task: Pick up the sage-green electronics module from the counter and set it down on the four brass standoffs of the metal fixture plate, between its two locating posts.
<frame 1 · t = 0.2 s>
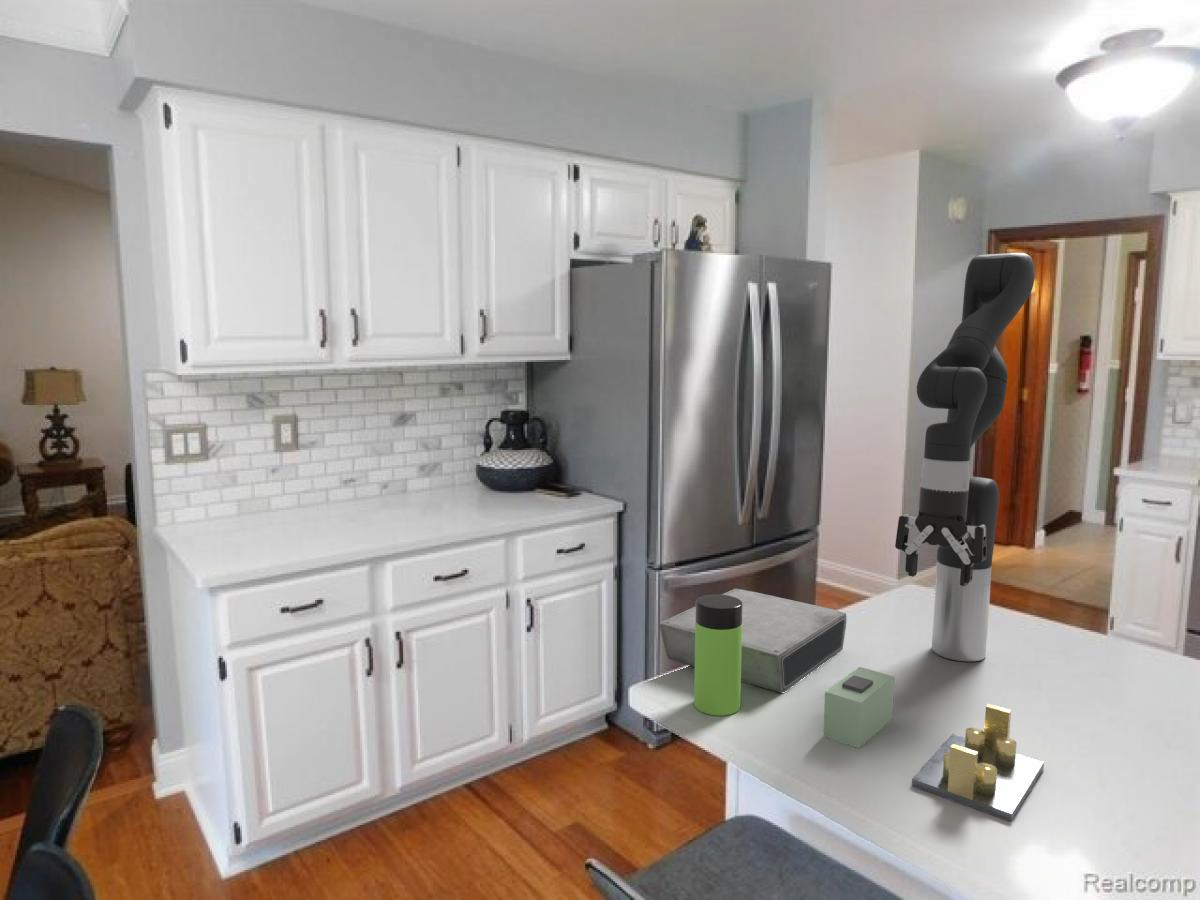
hand: (937, 580, 137), 17 cm above the kitchen island, tool pointing down, fingers open, 8 cm apart
metal fixture plate: (978, 777, 107), on the kitchen island
speaker: (757, 656, 150), on the kitchen island
module: (858, 727, 121), on the kitchen island
tumbler: (716, 706, 129), on the kitchen island
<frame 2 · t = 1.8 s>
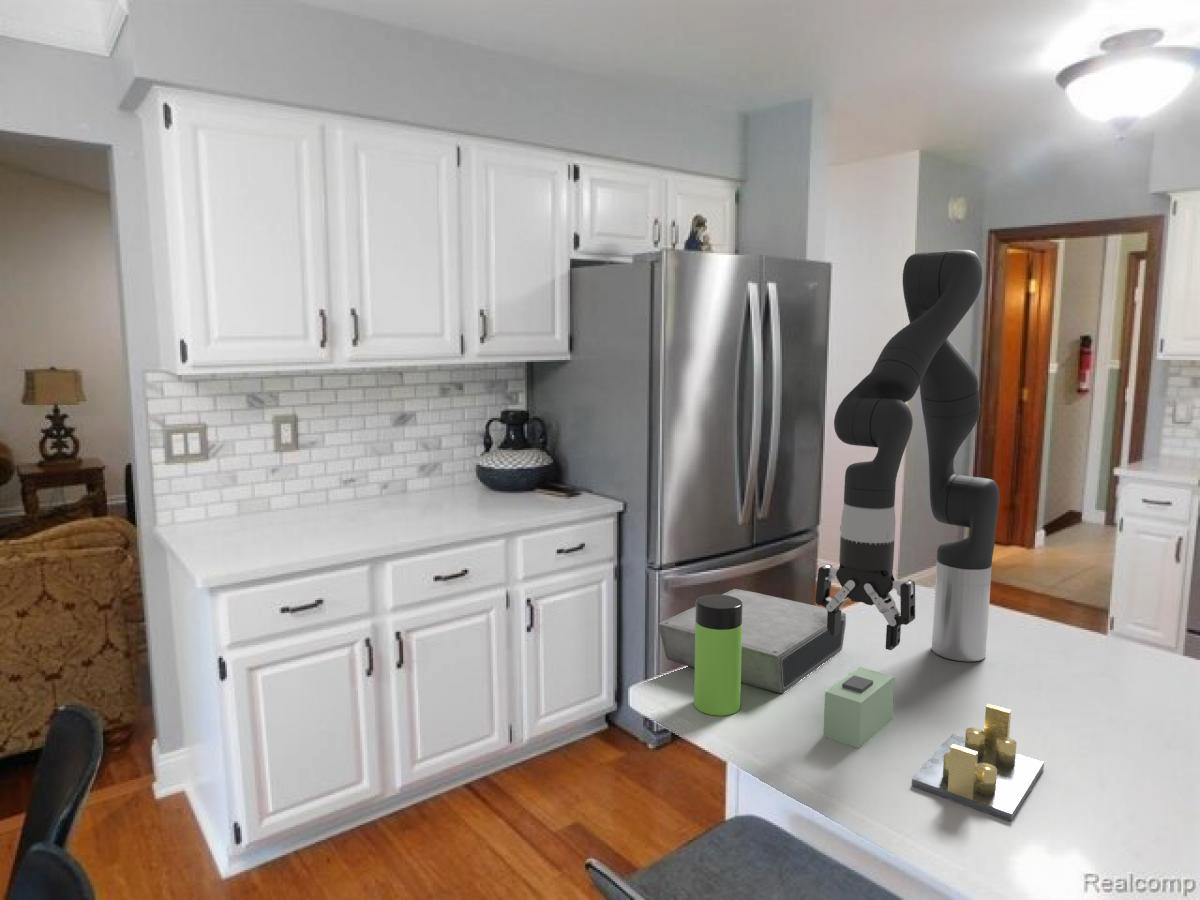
hand: (862, 641, 120), 13 cm above the kitchen island, tool pointing down, fingers open, 8 cm apart
nothing on the kitchen island moved.
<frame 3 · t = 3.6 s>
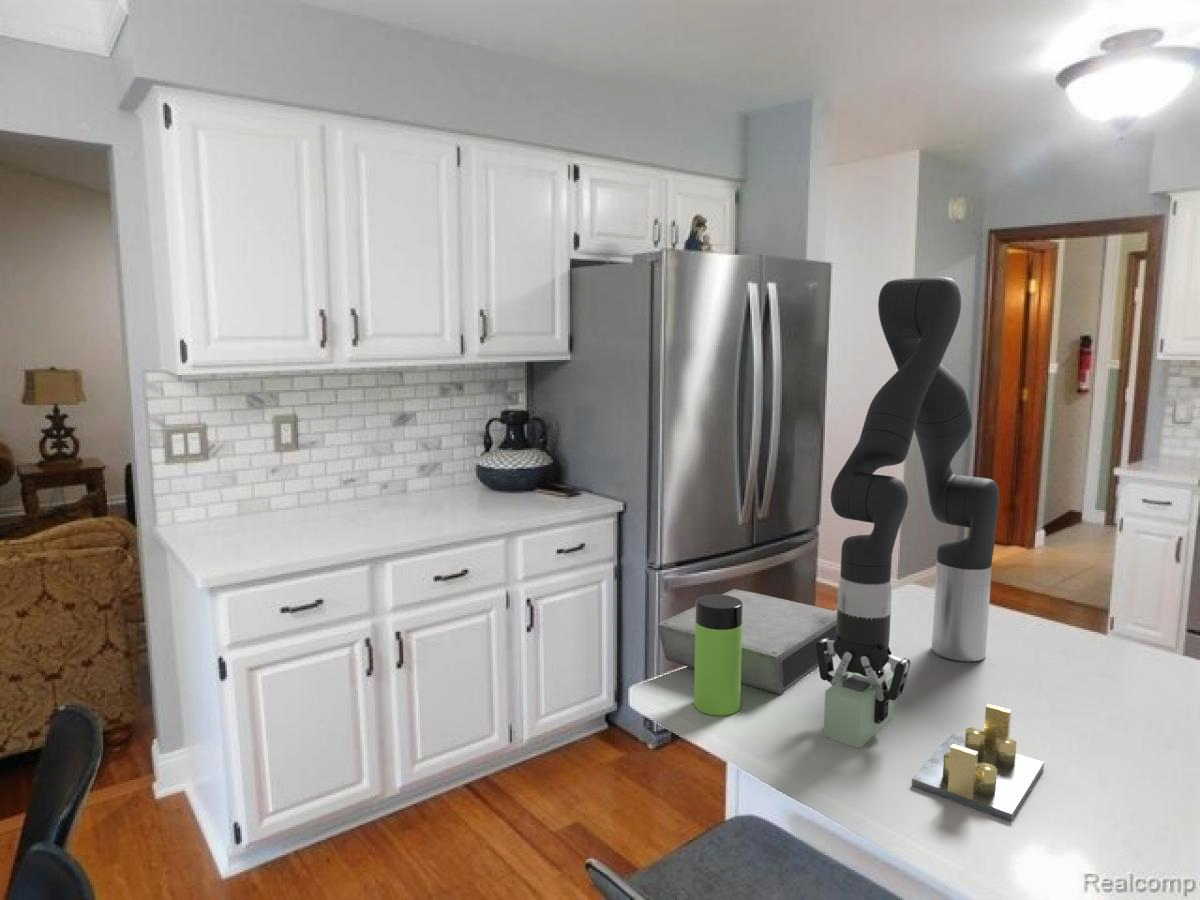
hand: (858, 714, 121), 2 cm above the kitchen island, tool pointing down, fingers closed on module, 5 cm apart
module: (858, 727, 121), on the kitchen island, touching gripper
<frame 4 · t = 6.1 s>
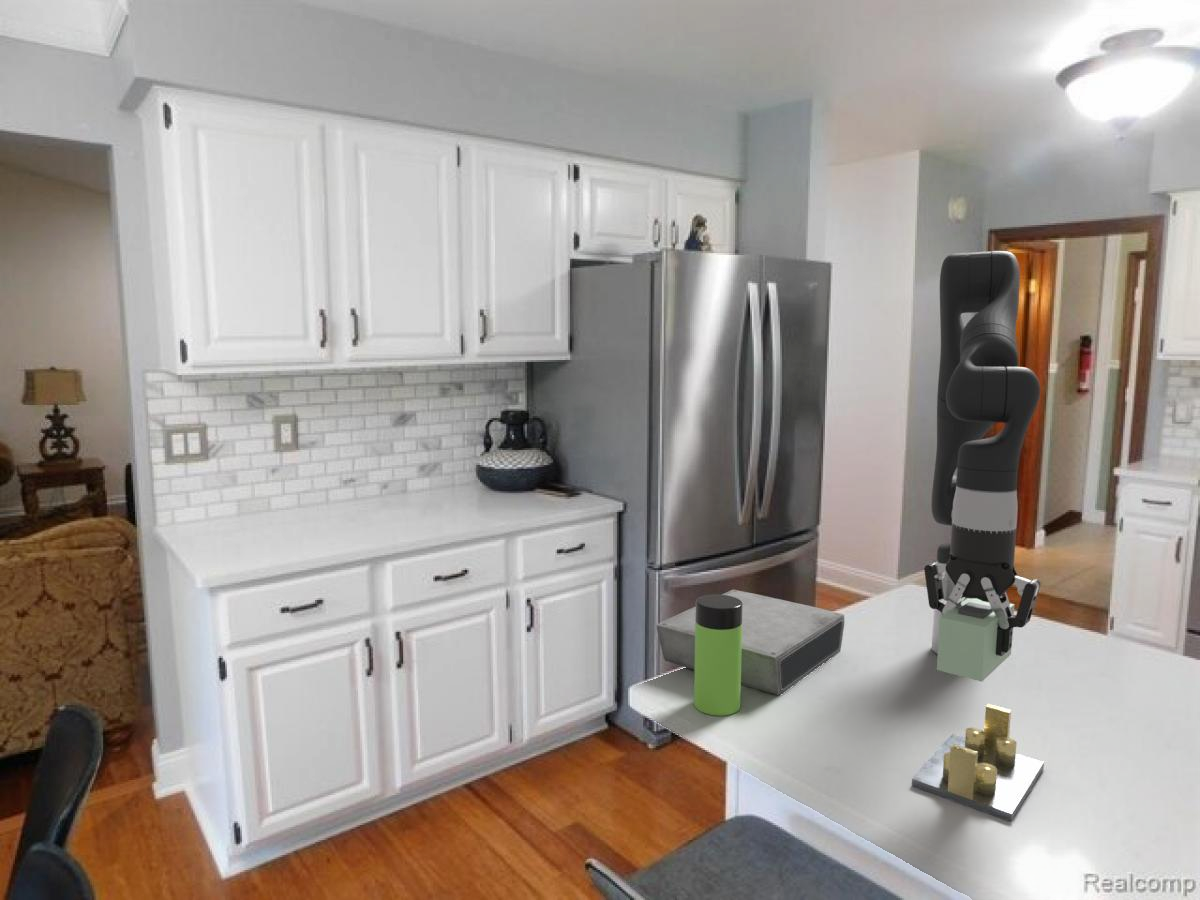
hand: (975, 647, 106), 18 cm above the kitchen island, tool pointing down, fingers closed on module, 5 cm apart
module: (974, 661, 106), point 16 cm above the kitchen island, touching gripper
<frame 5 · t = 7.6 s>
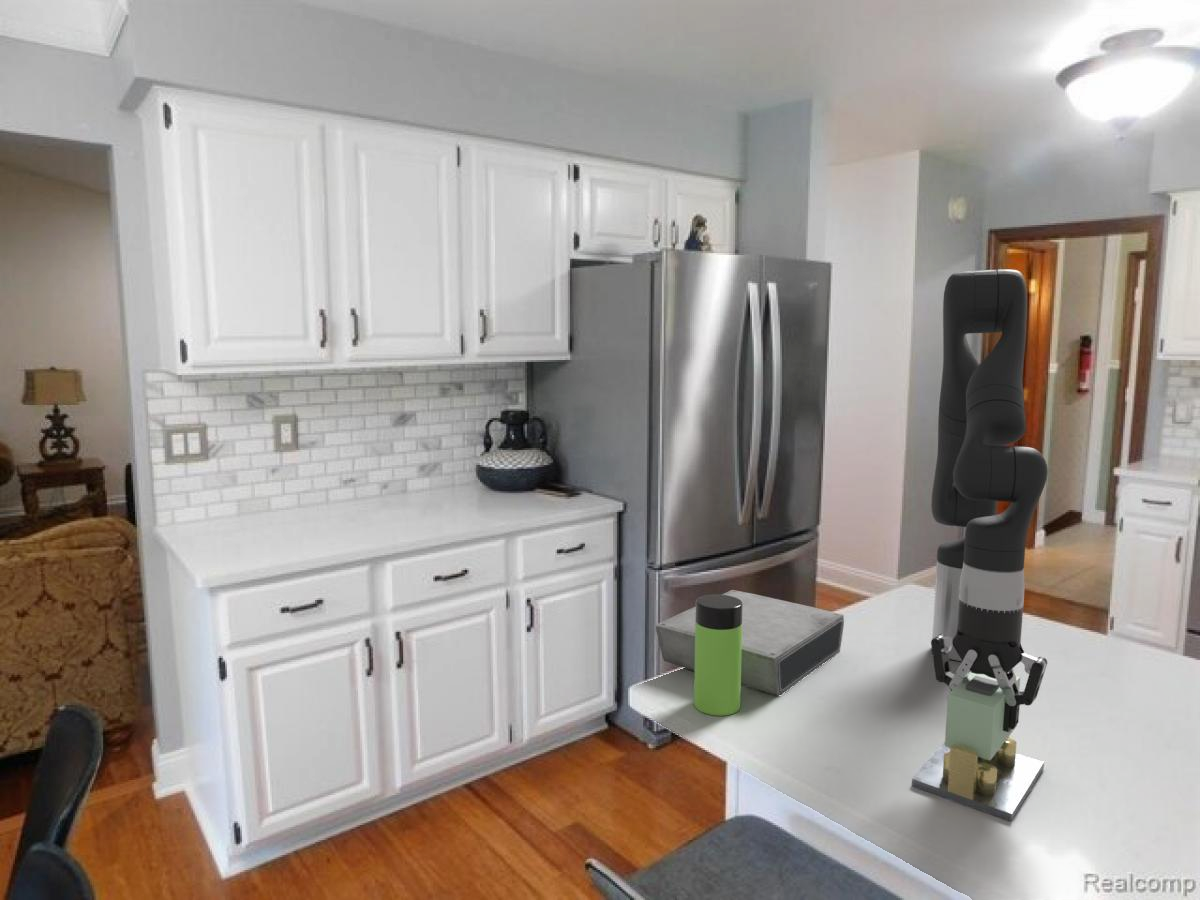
hand: (982, 721, 106), 8 cm above the kitchen island, tool pointing down, fingers closed on module, 5 cm apart
module: (981, 735, 107), point 6 cm above the kitchen island, touching gripper
when the fingers open (7 cm above the kitchen island, at t = 8.6 s): module stays where it is, resting on metal fixture plate.
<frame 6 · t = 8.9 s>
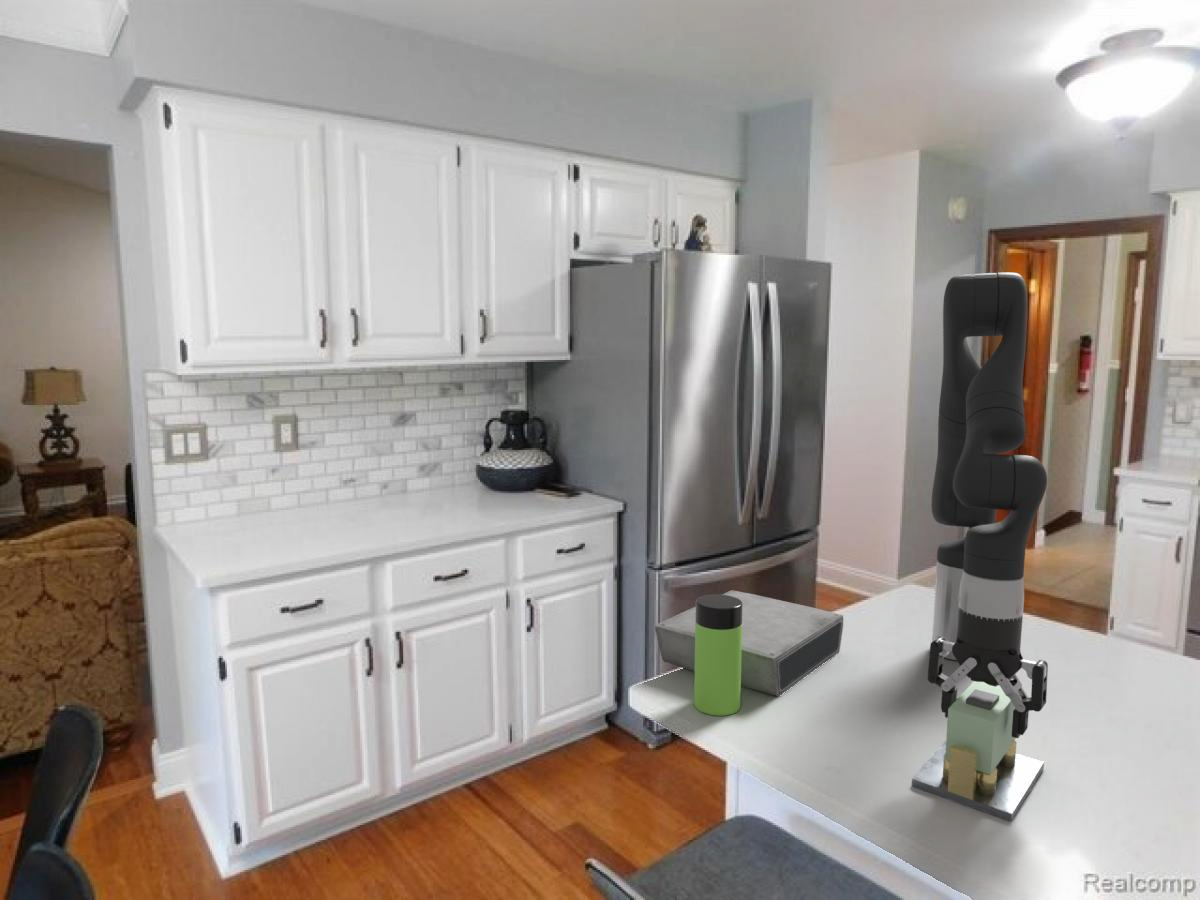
hand: (982, 725, 106), 7 cm above the kitchen island, tool pointing down, fingers open, 8 cm apart
module: (981, 749, 107), point 4 cm above the kitchen island, touching metal fixture plate
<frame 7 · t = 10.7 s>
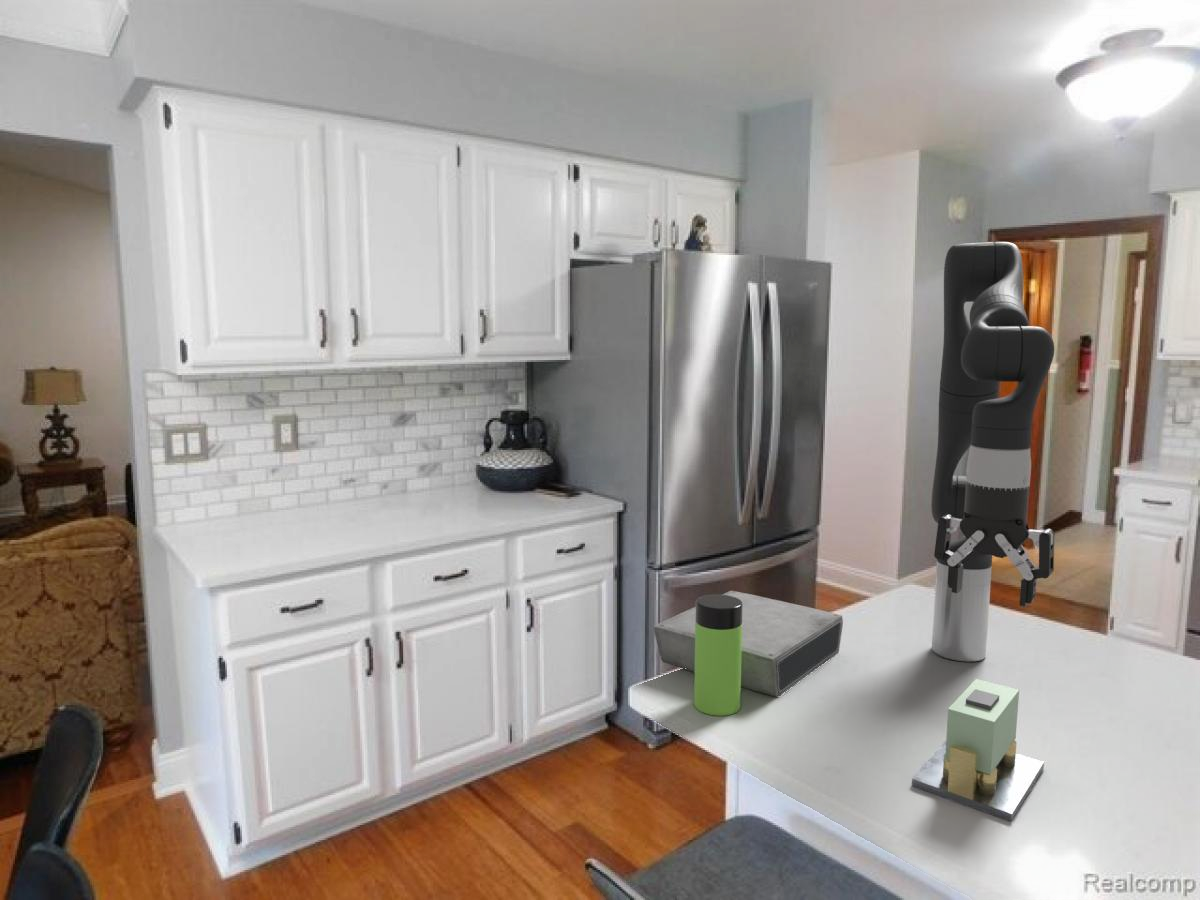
hand: (989, 598, 108), 23 cm above the kitchen island, tool pointing down, fingers open, 8 cm apart
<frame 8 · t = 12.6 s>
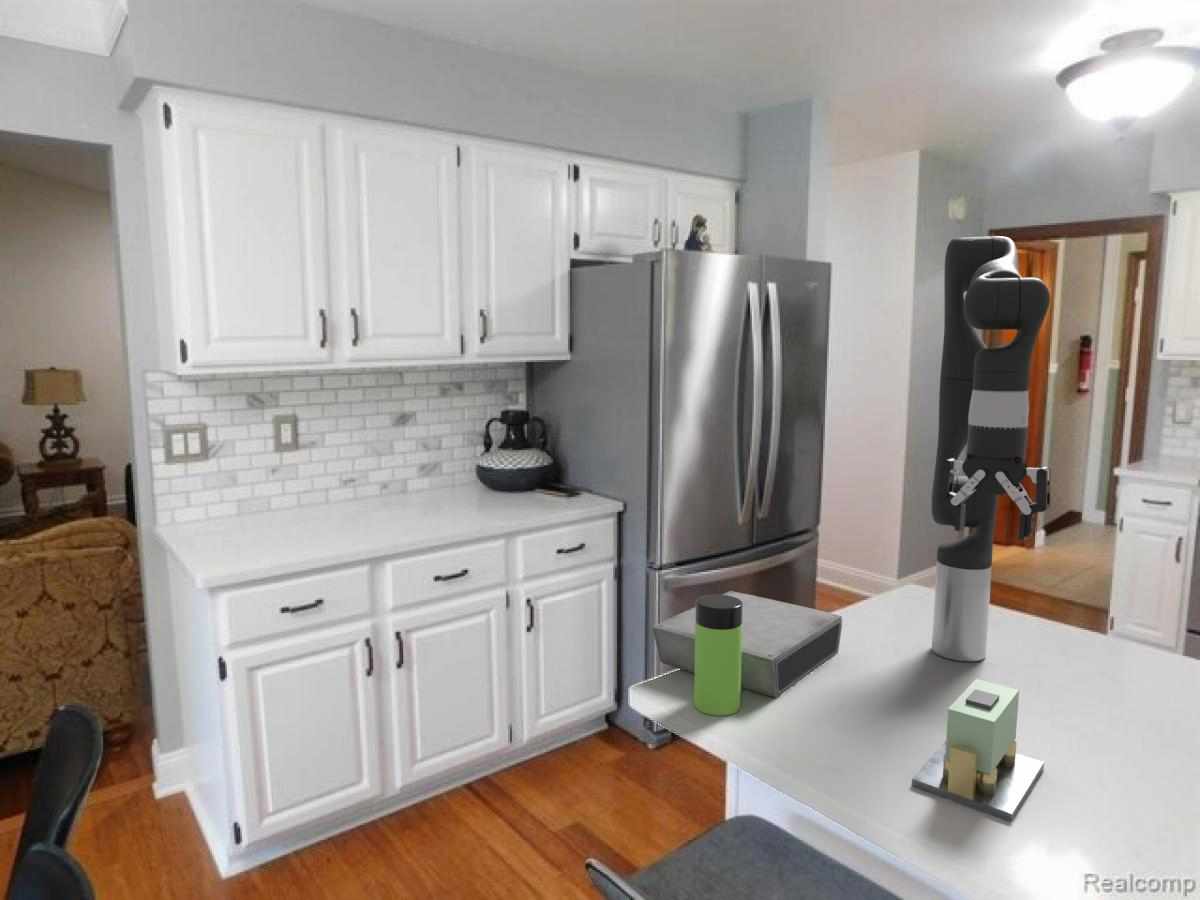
hand: (990, 534, 116), 30 cm above the kitchen island, tool pointing down, fingers open, 8 cm apart
at the end: module 0.1 cm off-centre on the metal fixture plate, point 4.0 cm above the metal fixture plate's base; module tilted 0°; the gripper is holding nothing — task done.
